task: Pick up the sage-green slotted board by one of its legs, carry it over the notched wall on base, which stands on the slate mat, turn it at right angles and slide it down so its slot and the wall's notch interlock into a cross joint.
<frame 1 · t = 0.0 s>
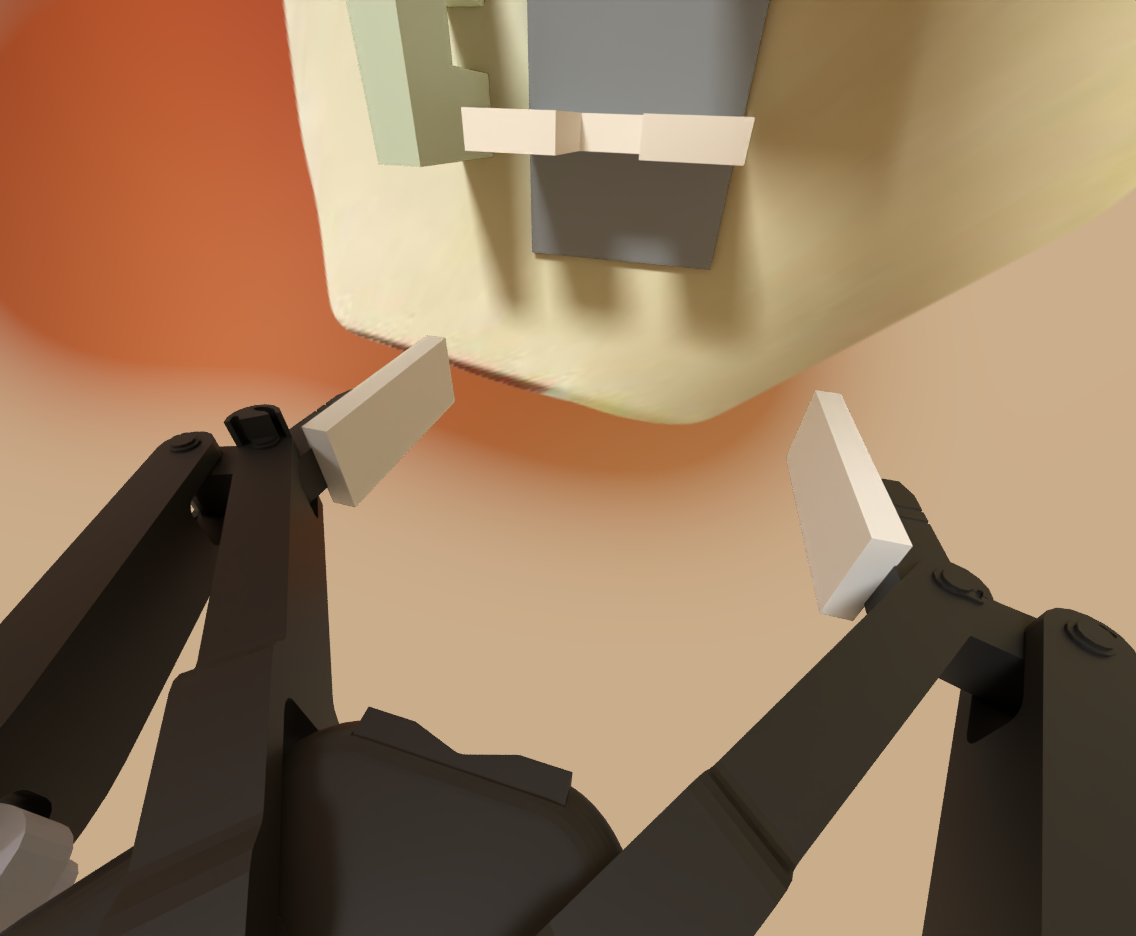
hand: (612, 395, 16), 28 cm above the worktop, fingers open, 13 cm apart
notched wall on base: (631, 132, 33), on the worktop
green plate: (467, 41, 32), on the worktop
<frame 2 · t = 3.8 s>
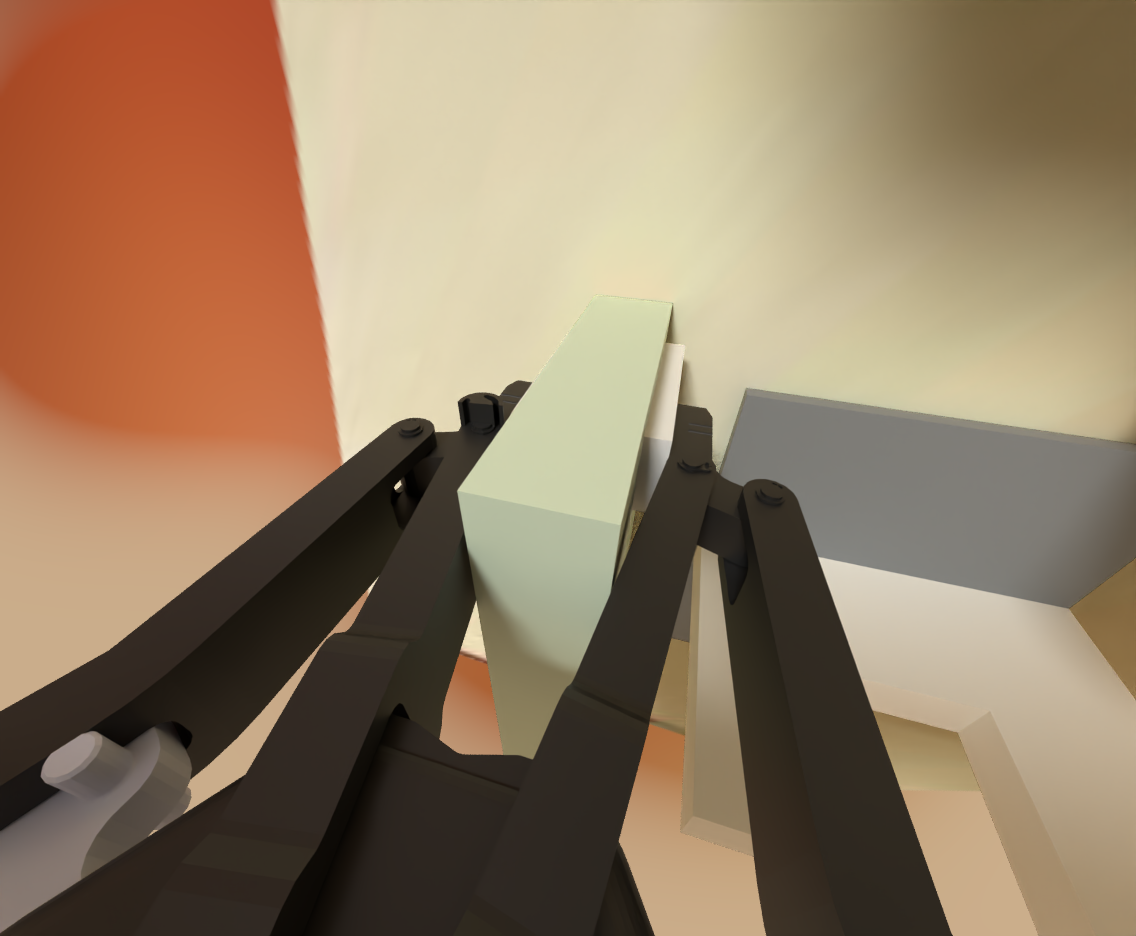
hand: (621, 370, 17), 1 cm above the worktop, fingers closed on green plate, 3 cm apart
notched wall on base: (859, 571, 22), on the worktop
green plate: (615, 446, 21), on the worktop, touching gripper
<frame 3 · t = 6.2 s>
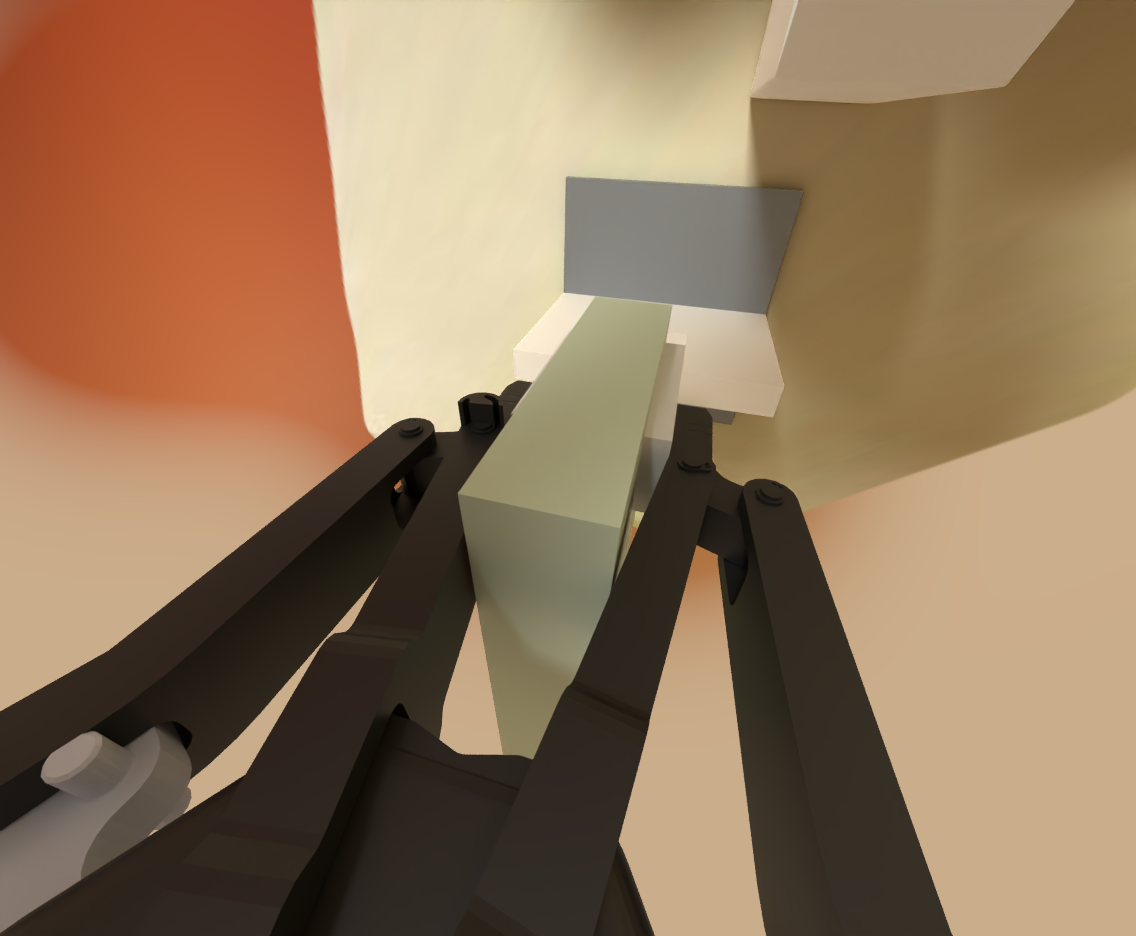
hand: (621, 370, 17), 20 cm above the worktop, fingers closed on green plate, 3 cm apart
notched wall on base: (659, 313, 36), on the worktop
green plate: (615, 447, 21), point 19 cm above the worktop, touching gripper
milk carton: (835, 16, 24), on the worktop
when the fingers open (4 cm above the worktop, at t = 8.9 s): green plate drops 2 cm, resting on notched wall on base.
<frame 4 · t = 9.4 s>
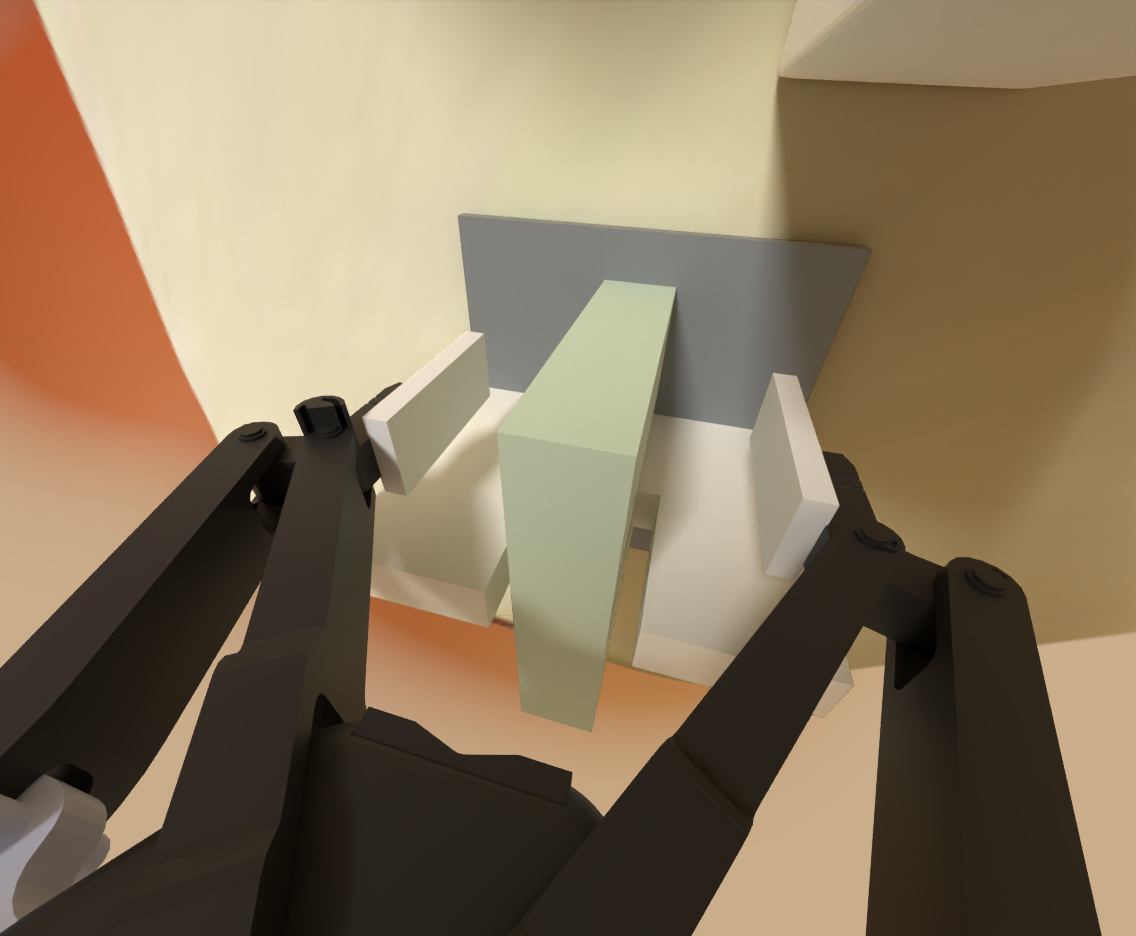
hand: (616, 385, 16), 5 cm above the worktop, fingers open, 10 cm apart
notched wall on base: (623, 419, 23), on the worktop
green plate: (621, 424, 22), point 1 cm above the worktop, touching notched wall on base
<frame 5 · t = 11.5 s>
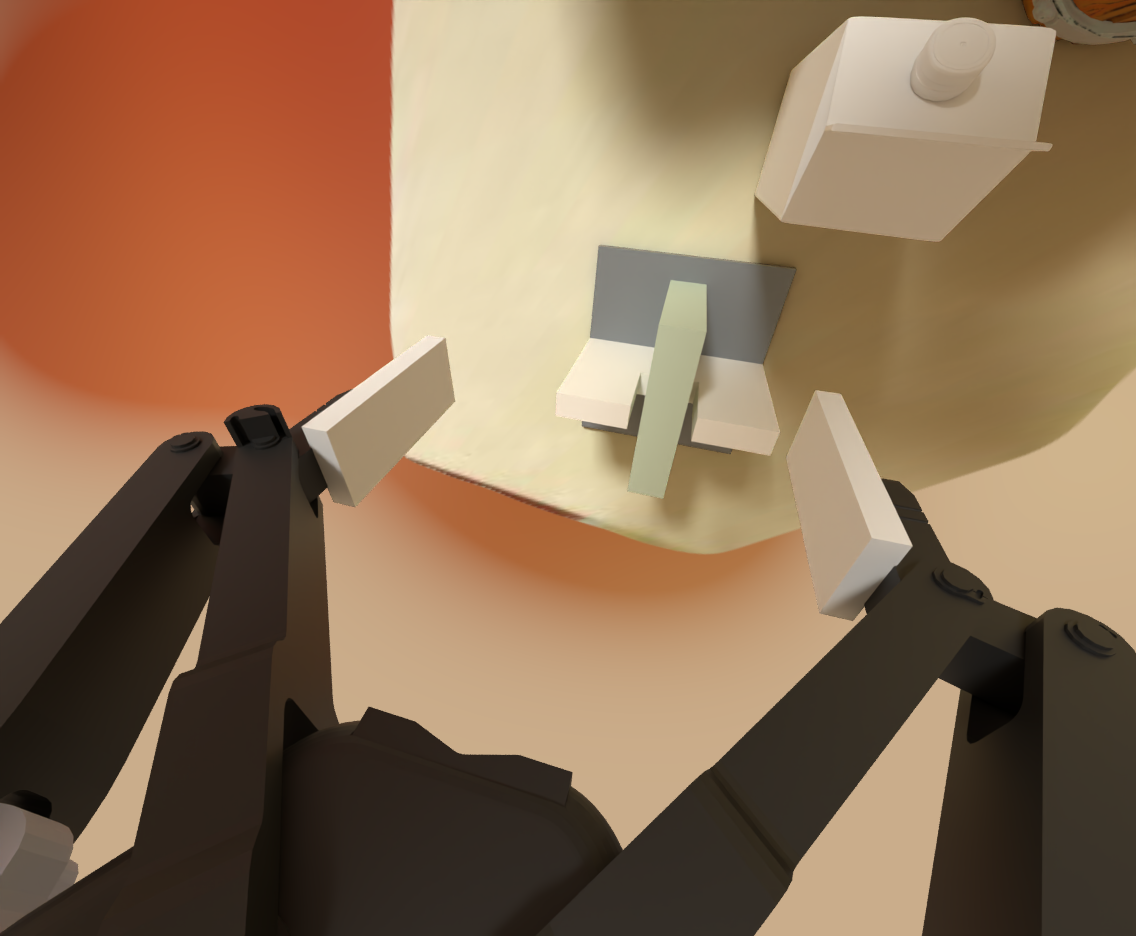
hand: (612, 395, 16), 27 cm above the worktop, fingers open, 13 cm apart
notched wall on base: (671, 358, 41), on the worktop
green plate: (671, 360, 41), point 1 cm above the worktop, touching notched wall on base
milk carton: (823, 142, 30), on the worktop
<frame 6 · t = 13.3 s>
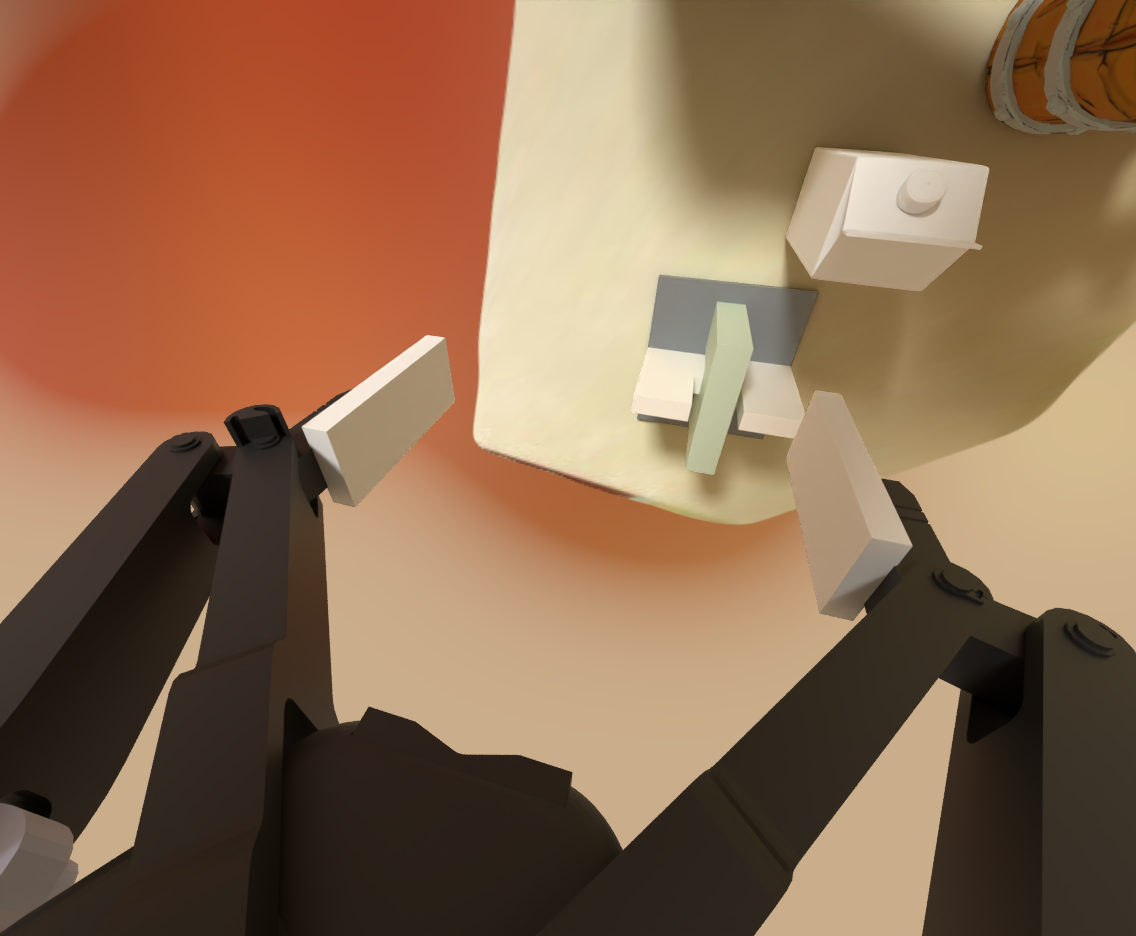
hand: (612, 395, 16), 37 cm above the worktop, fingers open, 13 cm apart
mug: (1113, 46, 31), on the worktop
notched wall on base: (715, 362, 51), on the worktop
green plate: (715, 364, 51), point 1 cm above the worktop, touching notched wall on base
milk carton: (839, 198, 39), on the worktop
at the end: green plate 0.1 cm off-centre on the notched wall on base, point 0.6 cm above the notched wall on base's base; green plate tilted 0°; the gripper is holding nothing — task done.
